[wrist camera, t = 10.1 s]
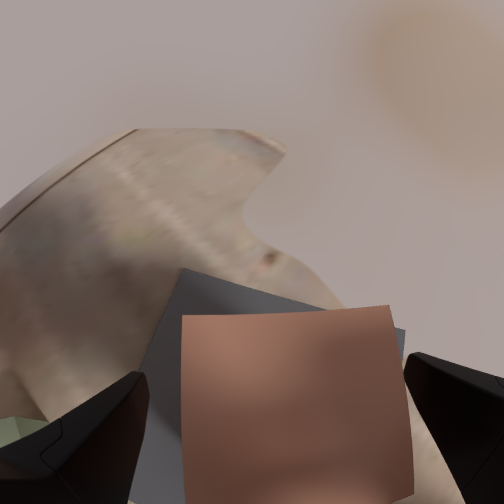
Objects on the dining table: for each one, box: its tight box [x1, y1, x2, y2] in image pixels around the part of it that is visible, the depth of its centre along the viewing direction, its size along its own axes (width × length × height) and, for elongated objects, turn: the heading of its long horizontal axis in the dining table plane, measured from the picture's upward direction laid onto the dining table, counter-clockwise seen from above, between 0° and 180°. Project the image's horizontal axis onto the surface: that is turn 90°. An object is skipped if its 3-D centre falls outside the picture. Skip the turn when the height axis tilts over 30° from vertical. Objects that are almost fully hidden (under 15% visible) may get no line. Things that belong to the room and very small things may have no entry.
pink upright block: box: [181, 305, 414, 504], centre depth 10 cm, size 6×6×10 cm
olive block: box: [0, 416, 49, 448], centre depth 10 cm, size 4×4×4 cm
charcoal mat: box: [128, 268, 405, 504], centre depth 15 cm, size 16×16×1 cm
